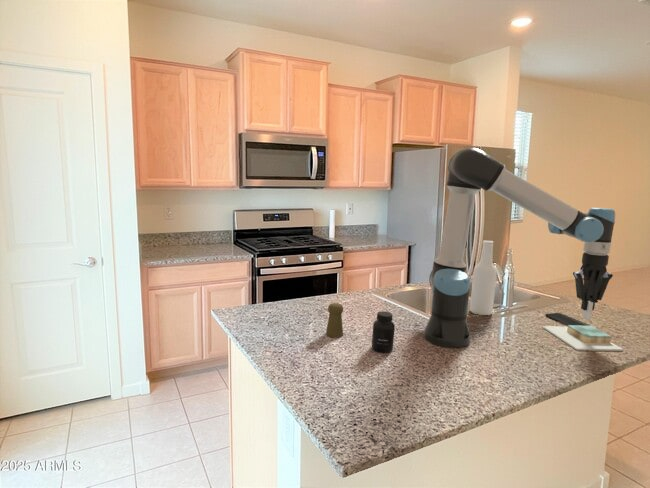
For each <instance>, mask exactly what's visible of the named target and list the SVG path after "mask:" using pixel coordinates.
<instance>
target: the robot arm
mask: <svg viewBox="0 0 650 488" xmlns="http://www.w3.org/2000/svg"><path fill="white" fill-rule="evenodd" d="M447 170H448V176H447V182H446V187H447V188H448V190H449V194H448V195H449V196H448V201H447V208H446V213H445V220H444V226H443V231H442V235H441V236H442V237H441V243H440V247H439V248H440V249H439V254H438V256H437V257H436V258H435V259H434V260H433V264H432V270H431V271H430V274H429V277H428V278H429V280H428V281H429V285H430V288H431V293H432V301H431V314H430V317H429V318H428V321H427V323H426V326H425V327H424V335H423V336H424V337H423V338H424V339H425V340H426V341H427V342H429V343H431V344H433V345H436V346H440V347H443V348H444V347H445V348H452V349H454V348H464V347H467V346H469V345H470V344H471V343H470V342H471V333H470V329H469V325H468V321H467V317H468V309H469V299H470V298H469V297H470V289H471V286H472V285H471V277H470V275H469V274H468V273H466V271H467V264H466V263H465V261H464V257H465V252H466V246H467V241H468V235H469V230H470V224H471V219H472V214H473V209H474V202H475V197H476V194H478V193H479V192H481V190H484V191H486V192H494V193H495V194H497V195H499V196H500V197H503V198H505V199H506V200H508V201H510V202H512V203H513V204H515V205H517V206H519V207H521V208H523V209H524V210H526V211H527V212H529V213H532V214H533V215H535V216H537V217H538V218H540V219H541V220H543V221H545V222H547V228H548V231H549V233H550V234H555V235H566V236H569V237H571V238H574V239H577V240H579V241H580V242H584V244H583V248H582V250H583V253H582V257H581V263H582V264H581V266H580V269H579V270H578V271H573V273H572V275H573V277H574V281H575V290H576V291H575V292H576V298H577V299H579V300H581V306H580V308H581V318H582V319H583V320H586V321H591V320H592V314H593V311H594V310H595V306H596V304H597V303H598V302H599V301H602V299H603V297H604V295H605V292H606V290H607V287H608V284H609V282H610V280H612V278H613V276H614V275H613V274H612V273H609V272H608V271H607V270H608V269H607V266H608V265H609V259H610V258H609V257H610V255H608V254H610V251H611V246H612V237H613V233H614V226H615V223H616V211H615V210H614V209H613V208H610V207H609V208H608V207H607V208H606V207H590V208H589V210H588V212H586V213H584V212H582V211H580V210H578V209H577V208H575V207H573V206H571V205H570V204H569V203H567V202H564V201H563V200H561V199H559V198H557V197H556V196H554V195H551V193H548V192H547V191H545V190H543V189H541V188H540V187H537V186H536V185H534V184H532V183H531V182H529V181H527V180H525V179H523V178H522V177H520V176H519V175H516V174H514V173H513V172H511V171H509V170H508V169H507V168H506V165H505V164H504V163H502V162H500V161H499V160H497V159H496V158H494V157H493V156H491V155H490V154H488V153H487V152H485V151H484V150H482V149H479V148H476V147H468V148H465V149H462V150H459V151H457V152H456V153H454V154H453V155H452V157H451V158H450V159H449V162H448V166H447Z"/></svg>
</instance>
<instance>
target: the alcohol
mask: <svg viewBox="0 0 650 488" xmlns="http://www.w3.org/2000/svg"><path fill="white" fill-rule="evenodd" d="M493 249H494V241H493V240H485V239H484V240H483V241H482V248H481V254H480V259H479V262H478V263H477V264H476V265H475V266H474V268H473V273H472V274H473V275H472V285H471V292H470V293H471V294H470V295H471V296H470V304H469V309H470V310H469V311H470V312H471V313H472V314H474V315H477V314H478V315H477V316H482V315H488V316H491V314H492V313H493V310H494V301H495V294H496V293H495V291H496V282H497V274H498V272H497V268H496V266H495V265H494V263H493V260H494V259H493V255H494V253H493V252H494V251H493Z"/></svg>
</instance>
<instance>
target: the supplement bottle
mask: <svg viewBox="0 0 650 488" xmlns="http://www.w3.org/2000/svg"><path fill="white" fill-rule="evenodd" d="M395 329H396V325H395V322H393V313H391V312H389V311H385V310H383V311H378V312H377V313H376V320H374V321H373V324H372V335H371V337H372V338H371V349H372V350H373V351H374V352H375V353H379V354H390V353H392V352H393V350H394V342H395V339H394V338H395Z"/></svg>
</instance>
